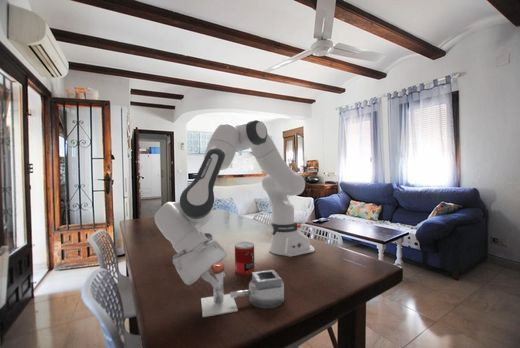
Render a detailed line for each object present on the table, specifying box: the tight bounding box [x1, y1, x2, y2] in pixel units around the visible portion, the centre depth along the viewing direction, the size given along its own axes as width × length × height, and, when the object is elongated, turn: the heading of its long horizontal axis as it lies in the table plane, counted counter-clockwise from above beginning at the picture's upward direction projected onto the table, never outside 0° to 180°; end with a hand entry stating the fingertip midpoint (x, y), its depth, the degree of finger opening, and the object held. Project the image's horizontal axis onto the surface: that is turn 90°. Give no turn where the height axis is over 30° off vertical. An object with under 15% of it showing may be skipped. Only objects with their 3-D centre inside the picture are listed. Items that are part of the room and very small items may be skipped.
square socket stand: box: [229, 269, 285, 310], centre depth 78 cm, size 17×11×8 cm, turn 106°
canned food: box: [234, 241, 255, 276], centre depth 101 cm, size 8×8×11 cm
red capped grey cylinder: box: [211, 262, 225, 304], centre depth 76 cm, size 4×4×11 cm
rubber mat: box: [200, 293, 239, 318], centre depth 76 cm, size 10×10×1 cm
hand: (220, 281), depth 76 cm, fingers closed on red capped grey cylinder, 3 cm apart
